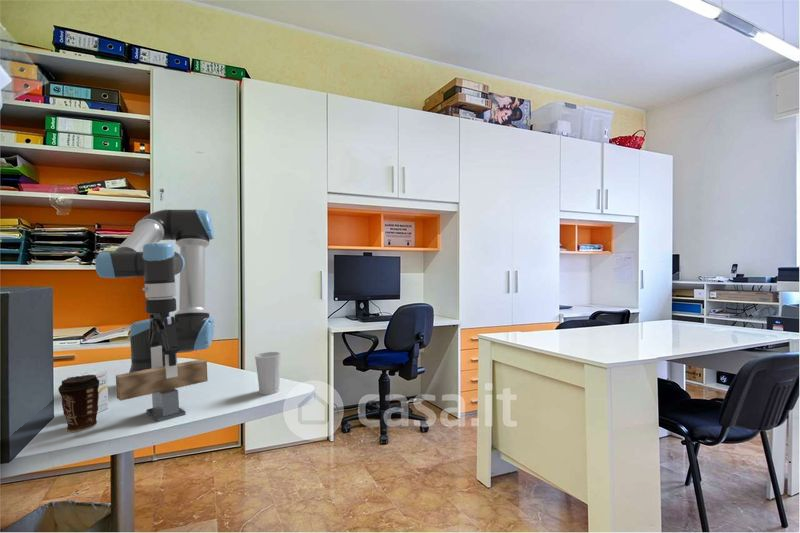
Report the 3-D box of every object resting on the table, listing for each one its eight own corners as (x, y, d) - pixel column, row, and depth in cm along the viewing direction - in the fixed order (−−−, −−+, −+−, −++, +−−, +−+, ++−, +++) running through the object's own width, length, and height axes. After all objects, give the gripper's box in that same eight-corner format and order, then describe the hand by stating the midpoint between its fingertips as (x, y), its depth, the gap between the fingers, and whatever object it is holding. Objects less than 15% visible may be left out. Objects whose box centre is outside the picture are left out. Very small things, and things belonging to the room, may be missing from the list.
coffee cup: (77, 421, 112) (74, 374, 112) (109, 419, 113) (106, 372, 113) (52, 435, 104) (50, 383, 104) (87, 432, 104) (85, 381, 104)
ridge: (146, 412, 118) (145, 388, 118) (173, 405, 123) (172, 382, 123) (157, 422, 110) (156, 396, 110) (185, 414, 115) (184, 389, 115)
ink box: (95, 408, 123) (93, 368, 123) (109, 408, 122) (107, 369, 122) (66, 419, 115) (64, 377, 114) (82, 420, 114) (80, 377, 113)
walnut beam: (120, 400, 107) (119, 377, 107) (116, 397, 110) (115, 375, 110) (207, 381, 123) (206, 361, 123) (202, 378, 125) (201, 359, 125)
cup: (251, 392, 133) (250, 355, 133) (274, 386, 139) (272, 350, 139) (264, 397, 128) (262, 358, 128) (286, 390, 134) (285, 353, 133)
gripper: (134, 297, 122) (137, 368, 123) (158, 302, 104) (162, 384, 105) (162, 294, 127) (165, 362, 128) (190, 299, 110) (194, 377, 110)
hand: (164, 372), depth 116 cm, fingers open, 13 cm apart
